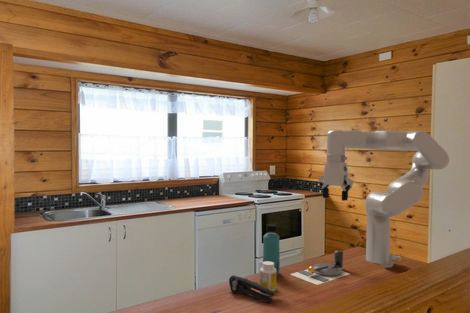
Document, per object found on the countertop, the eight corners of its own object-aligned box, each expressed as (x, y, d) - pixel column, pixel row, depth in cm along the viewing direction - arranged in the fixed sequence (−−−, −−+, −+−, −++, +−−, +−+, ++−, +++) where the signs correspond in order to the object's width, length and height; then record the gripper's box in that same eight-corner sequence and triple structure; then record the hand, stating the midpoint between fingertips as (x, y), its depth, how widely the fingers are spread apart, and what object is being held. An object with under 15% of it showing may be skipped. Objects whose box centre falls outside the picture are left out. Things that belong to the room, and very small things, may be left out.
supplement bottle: (275, 290, 120) (275, 260, 120) (276, 296, 115) (277, 265, 115) (259, 289, 120) (259, 260, 120) (260, 296, 115) (260, 265, 115)
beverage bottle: (278, 280, 129) (279, 227, 129) (261, 279, 131) (262, 225, 131) (280, 274, 136) (281, 223, 136) (263, 273, 137) (264, 222, 137)
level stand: (323, 268, 144) (323, 263, 144) (350, 277, 134) (350, 272, 134) (289, 278, 132) (289, 273, 132) (316, 289, 122) (317, 283, 122)
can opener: (223, 292, 118) (224, 275, 118) (237, 286, 124) (237, 270, 124) (266, 307, 107) (267, 289, 107) (279, 300, 112) (279, 283, 112)
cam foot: (330, 263, 145) (330, 247, 145) (352, 271, 136) (353, 254, 136) (298, 272, 134) (298, 254, 134) (320, 280, 125) (321, 262, 125)
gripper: (358, 159, 145) (357, 200, 145) (324, 158, 158) (324, 196, 158) (348, 159, 140) (347, 202, 140) (314, 158, 154) (313, 197, 154)
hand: (334, 199), depth 149 cm, fingers open, 9 cm apart
